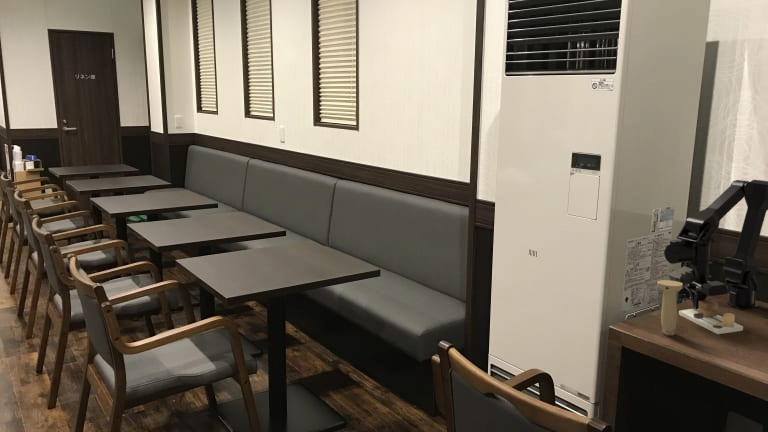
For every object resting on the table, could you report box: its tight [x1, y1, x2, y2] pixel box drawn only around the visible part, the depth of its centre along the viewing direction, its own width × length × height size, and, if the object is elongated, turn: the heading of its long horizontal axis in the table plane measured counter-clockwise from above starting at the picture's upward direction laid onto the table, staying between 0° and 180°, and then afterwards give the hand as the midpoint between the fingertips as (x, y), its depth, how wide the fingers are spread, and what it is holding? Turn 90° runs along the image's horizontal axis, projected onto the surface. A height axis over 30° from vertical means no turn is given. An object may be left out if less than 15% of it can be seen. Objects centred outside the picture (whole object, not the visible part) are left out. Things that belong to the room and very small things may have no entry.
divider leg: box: [694, 298, 719, 317], centre depth 179 cm, size 6×3×4 cm, turn 101°
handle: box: [656, 279, 684, 336], centre depth 170 cm, size 5×6×15 cm
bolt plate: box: [678, 308, 744, 335], centre depth 177 cm, size 8×16×4 cm, turn 11°
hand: (696, 308), depth 183 cm, fingers closed
